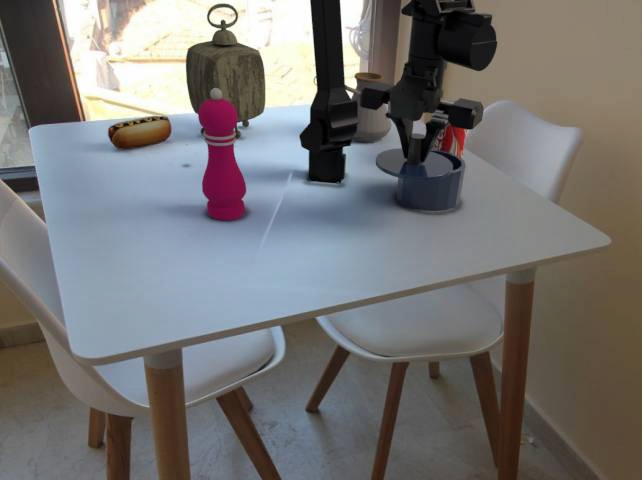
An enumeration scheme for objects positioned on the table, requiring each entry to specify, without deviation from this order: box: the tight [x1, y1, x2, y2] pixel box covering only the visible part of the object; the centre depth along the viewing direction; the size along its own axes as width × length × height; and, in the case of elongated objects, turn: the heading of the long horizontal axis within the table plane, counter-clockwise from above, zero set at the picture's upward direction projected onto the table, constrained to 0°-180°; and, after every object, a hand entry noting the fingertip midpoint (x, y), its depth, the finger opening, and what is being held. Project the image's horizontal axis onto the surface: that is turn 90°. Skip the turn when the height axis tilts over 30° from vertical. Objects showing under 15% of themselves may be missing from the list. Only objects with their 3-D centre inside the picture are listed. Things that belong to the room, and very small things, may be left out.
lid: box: [375, 132, 453, 181], centre depth 100 cm, size 13×13×5 cm
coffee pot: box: [313, 71, 392, 143], centre depth 133 cm, size 21×12×15 cm, turn 137°
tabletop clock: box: [185, 3, 266, 139], centre depth 127 cm, size 14×9×25 cm, turn 133°
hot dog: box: [107, 115, 172, 150], centre depth 125 cm, size 5×13×5 cm, turn 135°
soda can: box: [432, 99, 468, 159], centre depth 127 cm, size 7×7×12 cm
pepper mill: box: [197, 88, 247, 221], centre depth 99 cm, size 7×7×20 cm
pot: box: [396, 149, 466, 212], centre depth 113 cm, size 12×12×8 cm
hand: (414, 159), depth 101 cm, fingers closed on lid, 3 cm apart
